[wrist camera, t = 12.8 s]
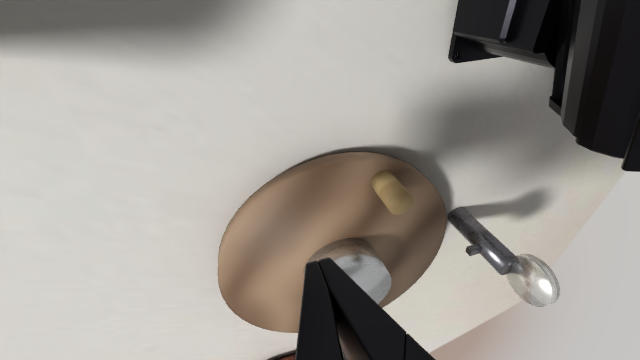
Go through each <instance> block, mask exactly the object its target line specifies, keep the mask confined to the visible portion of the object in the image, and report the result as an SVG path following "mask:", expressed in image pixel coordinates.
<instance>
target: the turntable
mask: <svg viewBox="0 0 640 360" xmlns="http://www.w3.org/2000/svg"><path fill="white" fill-rule="evenodd" d="M445 229H446V211H445V205H444V203H443V200H442V197H441V195H440V194H439V192H438V191H437V189H436V188H435V187H434V185H433V184H432V183H431V182H430V181H429V180H428V179H426V178H425V177H424V176H423V175H422V174H421V173H420V172H419V171H418V170H417V169H415V168H414V167H412V166H411V165H409V164H408V163H406V162H404V161H402V160H399V159H397V158H395V157H391V156H387V155H384V154H378V153H370V152H348V153H340V154H333V155H329V156H325V157H321V158H317V159H313V160H311V161H308V162H305V163H303V164H300V165H298V166H295V167H293V168H291V169H289V170H287V171H285V172H284V173H282V174H280V175H278V176H276V177H275V178H273V179H272V180H270V181H269V182H267V183H266V184H265V185H263V186H262V187H261V188H260V189H258V190H257V191H256V192H255V193H254V194H253V195H251V196H250V197H249V198H248V199H247V200H246V202H245V203H244V204H243V205H242V206H241V207H240V208H239V209H238V211H237V212H236V214H235V215H234V216H233V218H232V219H231V221H230V222H229V224H228V226H227V228H226V230H225V232H224V235H223V237H222V241H221V244H220V248H219V257H218V283H219V288H220V291H221V294H222V297H223V299H224V300H225V302H226V304H227V305H228V306H229V308H230V309H231V310H232V311H233V312H234V313H235V314H236V315H238V316H239V317H240V318H241V319H243V320H245V321H247V322H248V323H250V324H252V325H255V326H257V327H260V328H263V329H267V330H271V331H277V332H287V333H298V330H299V321H300V312H301V303H302V293H303V284H304V278H303V271H304V267H305V265H306V263H307V261H308V260H309V258H310V257H311V256H312V255H313V254H314V253H315V252H316V251H318V250H319V249H320V248H322V247H324V246H325V245H327V244H329V243H331V242H334V241H337V240H341V239H346V238H359V239H363V240H366V241H368V242H369V243H371V244H372V245H373V246H374V248H375V250H376V251H377V253H378V255H379V257H380V258H381V260H382V262H383V264H384V265H385V267H386V269H387V271H388V272H389V274H390V276H391V287H390V290H389V292H388V293H387V295H386V296H385V297H384V299H383V300H382V301H381V302H380V303H379V304H378V305H379V306H380V307H381V308H383V307H384V306H386V305H388V304H389V303H391V302H392V301H393V300H395V299H396V298H398V297H399V296H400V295H402V294H403V293H404V292H405V291H407V290H408V289H409V288H410V287H411V286H412V285H413V284H414V283H415V282H416V281H417V280H418V279H419V278H420V277H421V276H422V275H423V274H424V272H425V271H426V270H427V268H428V267H429V266H430V265H431V263H432V261H433V260H434V258H435V256H436V255H437V253H438V251H439V249H440V246H441V244H442V241H443V238H444V234H445Z"/></svg>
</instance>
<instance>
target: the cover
mask: <svg viewBox="0 0 640 360" xmlns="http://www.w3.org/2000/svg"><path fill="white" fill-rule="evenodd" d="M327 257H329V258H331V259H332V260H333V261H334V262H335V263H336V264H337V265H338V266H339V267H340V268H341V269H342V270H343V271H344V272H346V273H347V274H348V275H349V276H350V277H351V278H352V279H353V280H354V281H355V282H356V283H357V284H358V285H359V286H360V287H361V288H362V289H363V290H364V291H365V292H366V293H367V294H368V295H369V296H370V297H371V298H372V299H373V300H374V301H375V302H376V303H377V304H379V303H380V302H381V301H382V300H383V299H384V297H385V296H386V295H387V293H388V292H389V290H390V287H391V276H390V274H389V272H388V271H387V269H386V267H385V265H384V264H383V262H382V260H381V258H380V257H379V255H378V253H377V251H376V250H375V248H374V246H373V245H372V244H371V243H369V242H368V241H366V240H363V239H359V238H346V239H341V240H337V241H334V242H331V243H329V244H327V245H325V246H324V247H322V248H320V249H319V250H318V251H316V252H315V253H314V254H313V255H312V256H311V257H310V258H309V260H308V261H307V263H308V262H312V261H318V260H320V259H323V258H327ZM305 266H306V265H305ZM304 275H305V267H304V271H303V278H304Z"/></svg>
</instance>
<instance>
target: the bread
mask: <svg viewBox="0 0 640 360" xmlns="http://www.w3.org/2000/svg"><path fill="white" fill-rule="evenodd" d="M295 358H296V354H292V355H289V356H284V357H282V358H280V359H276V360H295Z"/></svg>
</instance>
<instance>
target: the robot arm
mask: <svg viewBox="0 0 640 360" xmlns="http://www.w3.org/2000/svg"><path fill="white" fill-rule="evenodd" d="M457 52H458V55H457V57H456V58H455V55H456V53H457ZM497 57H508V58H512V59H516V60H520V61H524V62H529V63H533V64H537V65H541V66H545V67H549V68H554V69H555V72H554V81H553V90H552V96H550V98H549V107H550V108H552V109H553V110H554V111H555V112H556V113H557V114H558V115H560V116H561V118H562V122H563V125H564V126H565V127H566V128H567V129H568V130H569V131H570V132H571V133H572V134H573V135H574V136H575V137H576V143H577V144H579V145H581V146H583V147H585V148H587V149H590V150H592V151H594V152H597V153H601V154H604V155H608V156H611V157H615V158H622V159H624V160H623V163H622V166H621V168H622V169H623V170H625V171H638V172H640V0H459V1H458V6H457V11H456V17H455V22H454V28H453V34H452V39H451V44H450V50H449V55H448V58H449V60H450V61H451V62H454V63H461V62H468V61H475V60H482V59H490V58H497ZM341 347H342V350H343V352H344V355H345V357H346V360H435V359H434V358H433V357H432V356H431V355H430V354H429V353H428V352H427V351H426V350H425V349H423V348H422V347H421V346H420V345H419V344H418V343H417V342H416V341H415V340H414V339H413V338H412V337H411V336H410V335H409V334H406V331H405V330H404V329H403V328H402V327H401V326H400V325H399V324H398V323H397V322H395V321H394V320H393V319H392V318H391V317H390V316H389V315H388V314H387V313H386V312H385V311H384V310H383V309H382V308H381V307H380V306H379V305H378V304H377V303H376V302H375V301H374V300H373V299H372V298H371V297H370V296H369V295H368V294H367V293H366V292H365V291H364V290H363V289H362V288H361V287H360V286H359V285H358V284H357V283H356V282H355V281H354V280H353V279H352V278H351V277H350V276H349V275H348V274H347V273H346V272H344V271H343V270H342V269H341V268H340V267H339V266H338V265H337V264H336V263H335V262H334V261H333V260H332V259H331V258H329V257H327V258H323V259H320V260H318V261H312V262H308V263H306V266H305V275H304V284H303V293H302V303H301V312H300V321H299V330H298V340H297V349H296V358H295V360H343V355H342V350H341Z"/></svg>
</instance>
